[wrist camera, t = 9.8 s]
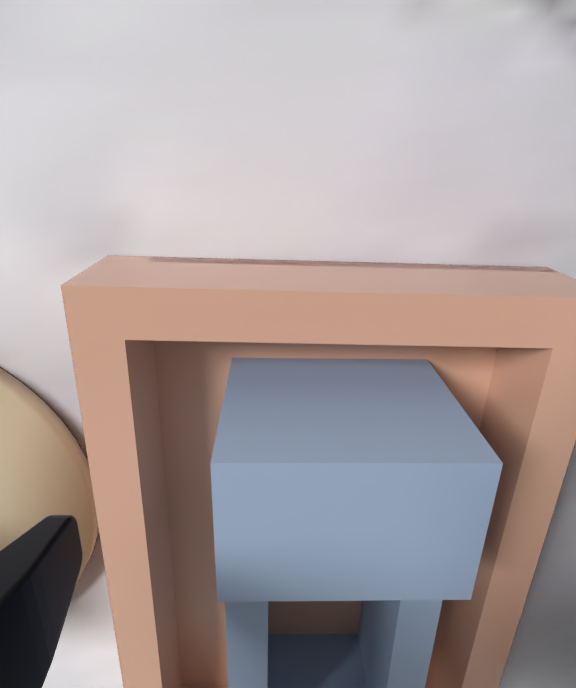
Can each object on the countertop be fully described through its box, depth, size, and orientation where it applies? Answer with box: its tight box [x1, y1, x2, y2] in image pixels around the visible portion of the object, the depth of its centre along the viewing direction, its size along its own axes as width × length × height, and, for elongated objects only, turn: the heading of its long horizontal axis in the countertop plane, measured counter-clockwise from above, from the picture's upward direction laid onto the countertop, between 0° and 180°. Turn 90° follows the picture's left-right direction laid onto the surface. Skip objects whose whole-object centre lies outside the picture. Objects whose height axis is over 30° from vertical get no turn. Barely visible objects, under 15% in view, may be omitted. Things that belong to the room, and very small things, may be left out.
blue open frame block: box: [210, 358, 503, 688], centre depth 11 cm, size 10×5×4 cm, turn 179°
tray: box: [61, 256, 576, 688], centre depth 12 cm, size 10×15×2 cm, turn 178°
